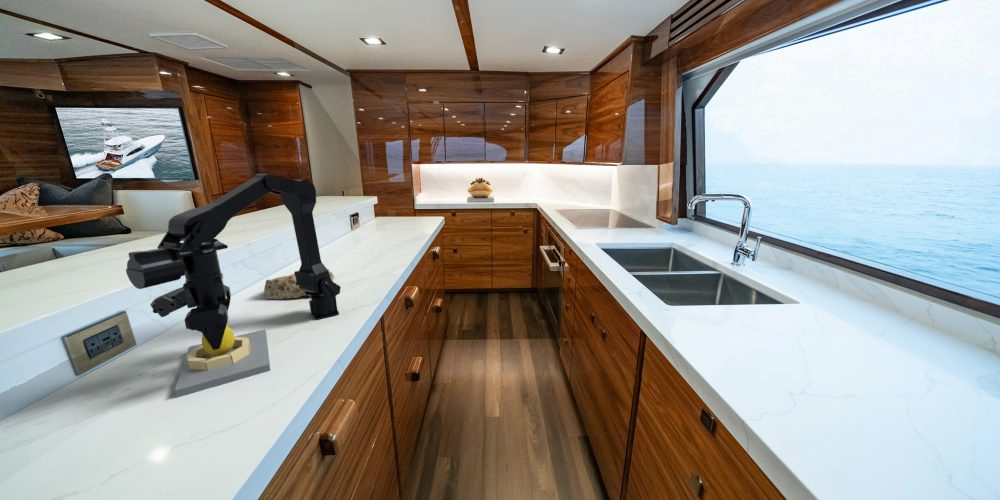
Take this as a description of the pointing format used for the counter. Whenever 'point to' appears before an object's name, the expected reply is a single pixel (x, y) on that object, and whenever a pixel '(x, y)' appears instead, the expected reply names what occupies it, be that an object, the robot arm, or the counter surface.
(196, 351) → the plate
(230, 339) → the lemon
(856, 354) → the counter surface
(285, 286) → the rock
